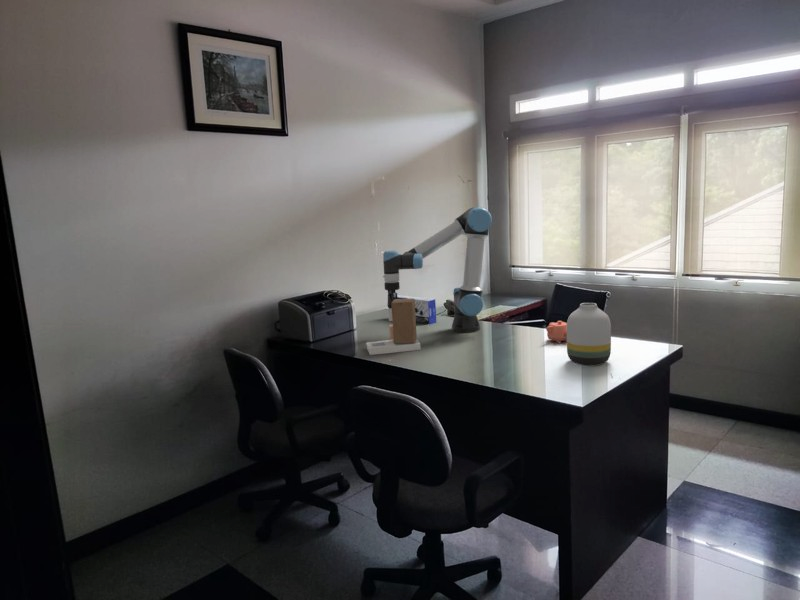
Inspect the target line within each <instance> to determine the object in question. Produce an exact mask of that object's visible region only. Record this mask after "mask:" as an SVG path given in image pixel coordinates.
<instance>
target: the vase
mask: <svg viewBox="0 0 800 600" xmlns="http://www.w3.org/2000/svg"><path fill="white" fill-rule="evenodd" d="M566 320H567V321H566V323H567V342H566V353H567V356H568V358H569V360H570V361H571V362H573V363H575V364H577V365H582V366H598V365H599V366H600V365H602V364H604V363H607V362H608V361H609V359H610V356H611V353H612V352H611V350H612V324H611V319H610V317H609V315H608V314H607V313H606V312H604V311H603V310H602V309H600V308H599V307H598V305H597V303H595V302H582V303H580V304H579V307H578V308H577V309H575V310H574V311H572V312H571V313H570V315H569V316H568V319H566Z"/></svg>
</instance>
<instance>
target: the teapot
mask: <svg viewBox="0 0 800 600" xmlns="http://www.w3.org/2000/svg"><path fill="white" fill-rule="evenodd" d="M545 330H546V332H547V339H548V340H550V341H551V342H556V343H557V344H561V343H562V341H565V342H566V343H567V322H565V321H562V320H557V322H554V321H553V322H549V324H548V326H547V327H546V329H545Z"/></svg>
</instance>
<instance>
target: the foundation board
mask: <svg viewBox="0 0 800 600" xmlns="http://www.w3.org/2000/svg"><path fill="white" fill-rule="evenodd" d="M365 343H366V350H367V352H368V353H369V355H370V356H374V355H383V354H392V353H402V352H411V351H412V352H413V351H421V343H420V341H418V340H417V339H416V341H415V343H414V344H394V340H390V339H389V340H388V339H386V340H377V341H367V342H365Z"/></svg>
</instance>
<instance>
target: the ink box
mask: <svg viewBox="0 0 800 600" xmlns="http://www.w3.org/2000/svg"><path fill="white" fill-rule="evenodd" d="M397 299H415V315H416V322H417V323H416V324H422V323H423V325H428V324H429V326H430V325H434V324H436V323H437V307H436V306H437V305H436V304H437V303H436V298H429V297H428V298H427V297H419V296H410V295H403V294H397Z"/></svg>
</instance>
